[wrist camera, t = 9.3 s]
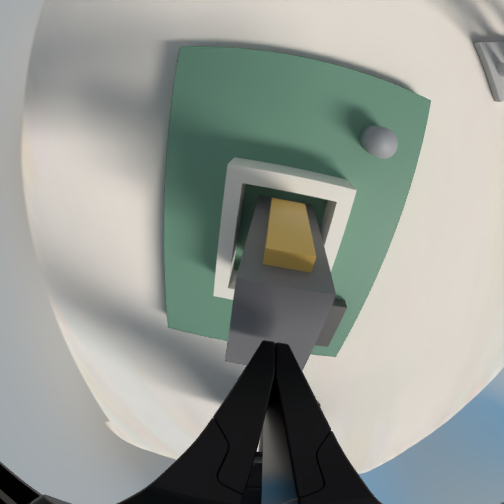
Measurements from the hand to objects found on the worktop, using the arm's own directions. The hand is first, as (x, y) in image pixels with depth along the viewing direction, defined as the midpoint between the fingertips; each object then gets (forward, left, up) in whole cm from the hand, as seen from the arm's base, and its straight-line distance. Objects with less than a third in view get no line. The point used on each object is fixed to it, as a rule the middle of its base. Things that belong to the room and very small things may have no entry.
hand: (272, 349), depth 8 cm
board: (0, 0, -10) cm, 10 cm away
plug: (0, 0, -9) cm, 9 cm away
